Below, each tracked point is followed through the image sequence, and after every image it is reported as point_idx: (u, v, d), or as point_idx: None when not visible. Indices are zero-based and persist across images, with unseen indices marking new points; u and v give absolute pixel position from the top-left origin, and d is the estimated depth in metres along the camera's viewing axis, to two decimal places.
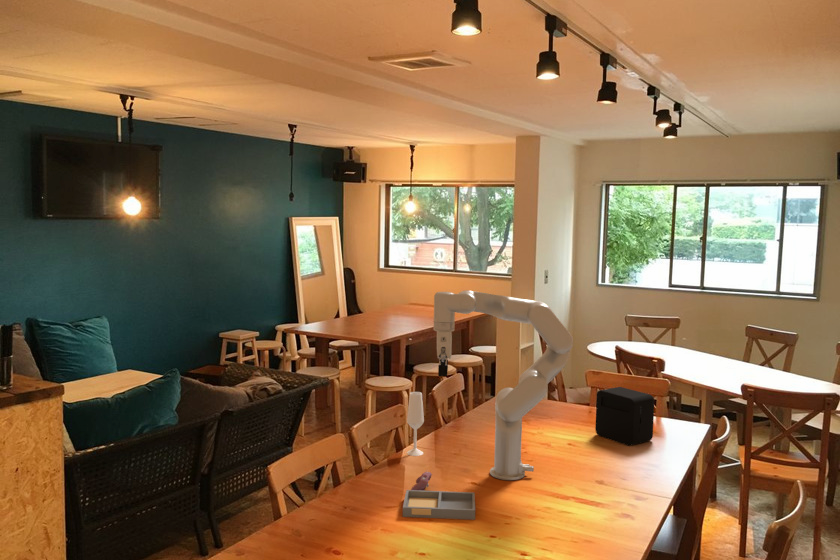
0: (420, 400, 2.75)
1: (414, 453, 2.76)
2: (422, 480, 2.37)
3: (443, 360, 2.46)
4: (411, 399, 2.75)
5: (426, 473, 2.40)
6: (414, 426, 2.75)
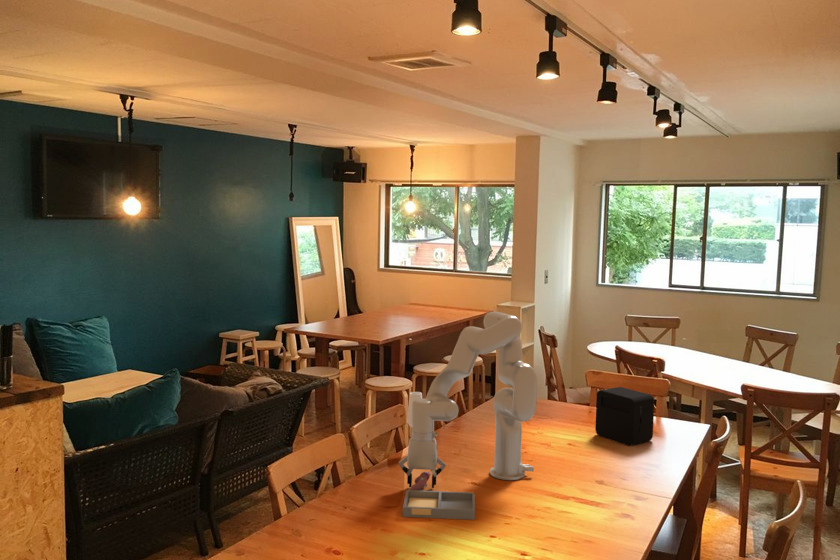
0: None
1: None
2: (421, 480, 2.37)
3: None
4: (411, 399, 2.75)
5: (425, 473, 2.40)
6: None
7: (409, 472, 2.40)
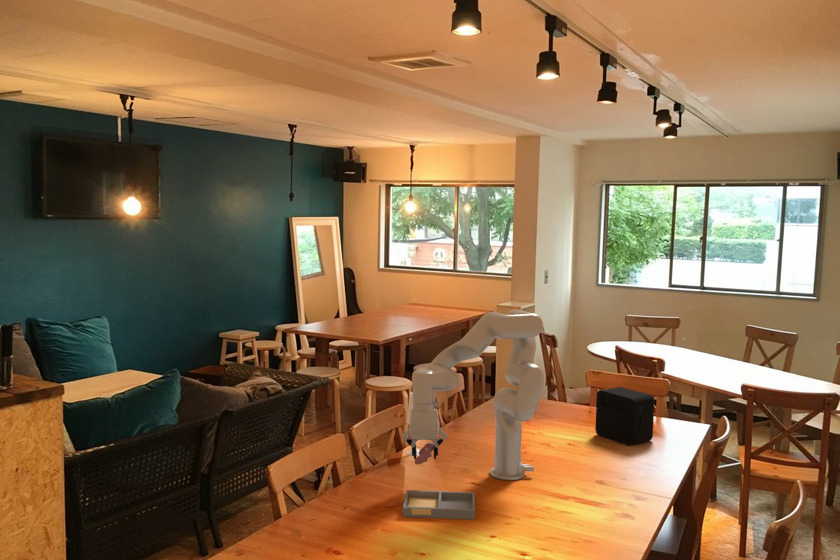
0: None
1: None
2: (425, 451, 2.36)
3: None
4: (411, 399, 2.75)
5: (429, 444, 2.40)
6: None
7: (413, 444, 2.39)
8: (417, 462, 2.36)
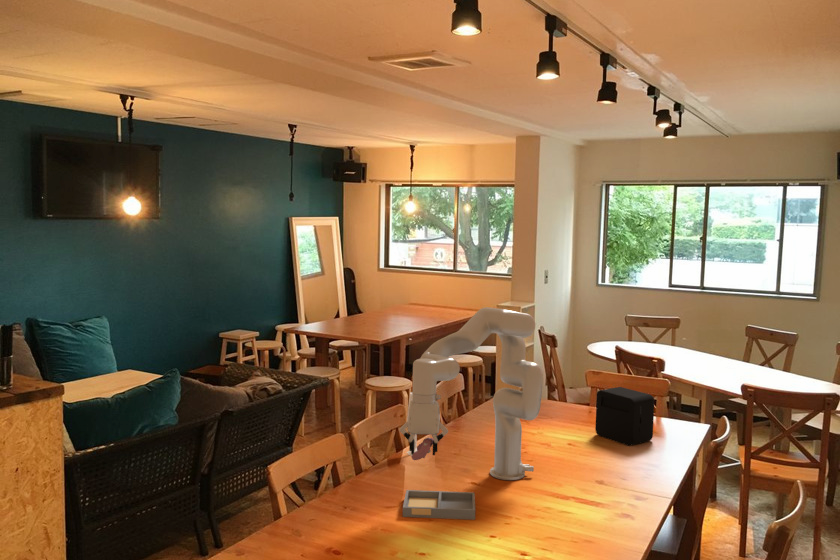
0: None
1: None
2: (424, 446, 2.20)
3: None
4: (411, 399, 2.75)
5: (428, 439, 2.24)
6: None
7: (411, 438, 2.23)
8: (415, 457, 2.20)
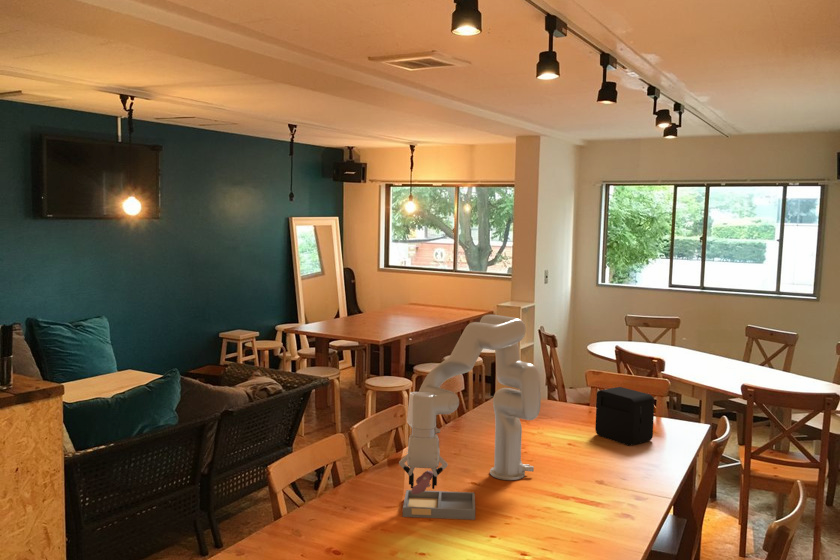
0: None
1: None
2: (423, 480, 2.20)
3: None
4: (411, 399, 2.75)
5: (427, 472, 2.24)
6: None
7: (411, 472, 2.23)
8: (415, 491, 2.20)
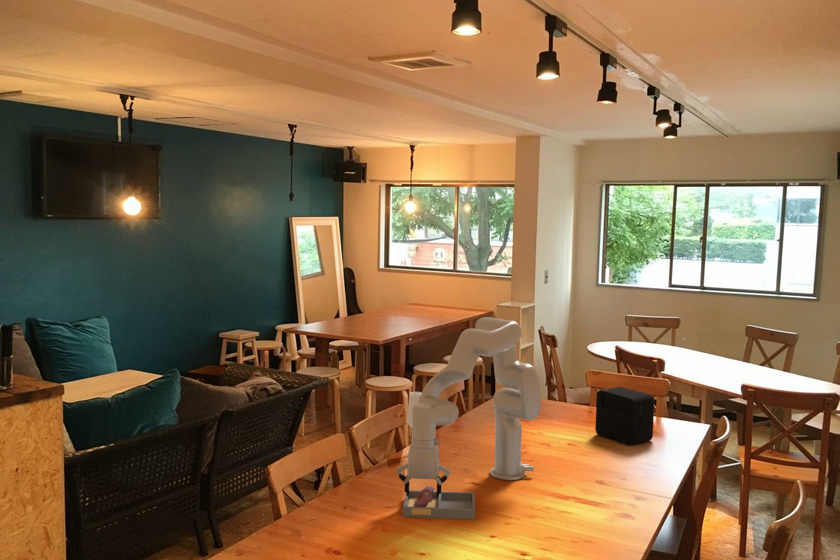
0: None
1: None
2: (425, 495, 2.21)
3: None
4: (411, 399, 2.75)
5: (429, 487, 2.25)
6: None
7: (406, 480, 2.23)
8: None
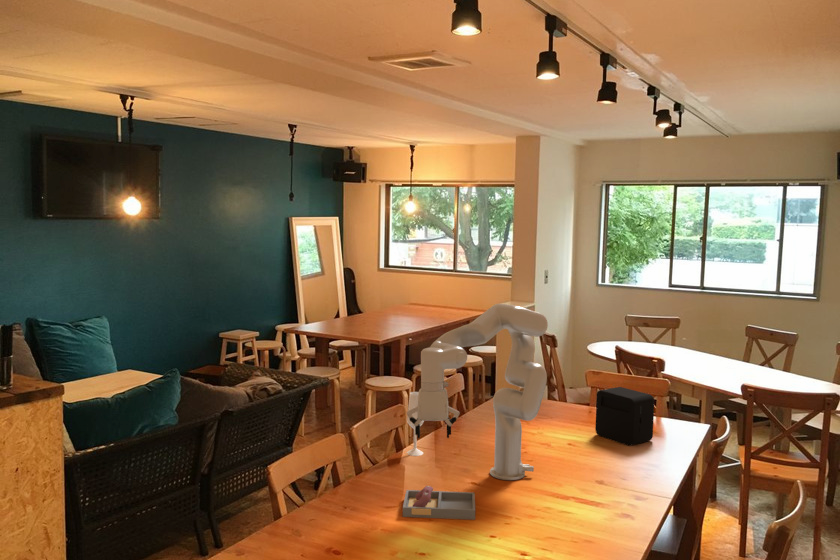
0: None
1: (414, 453, 2.76)
2: (424, 495, 2.21)
3: None
4: (411, 399, 2.75)
5: (428, 488, 2.25)
6: (414, 426, 2.75)
7: (417, 422, 2.30)
8: None
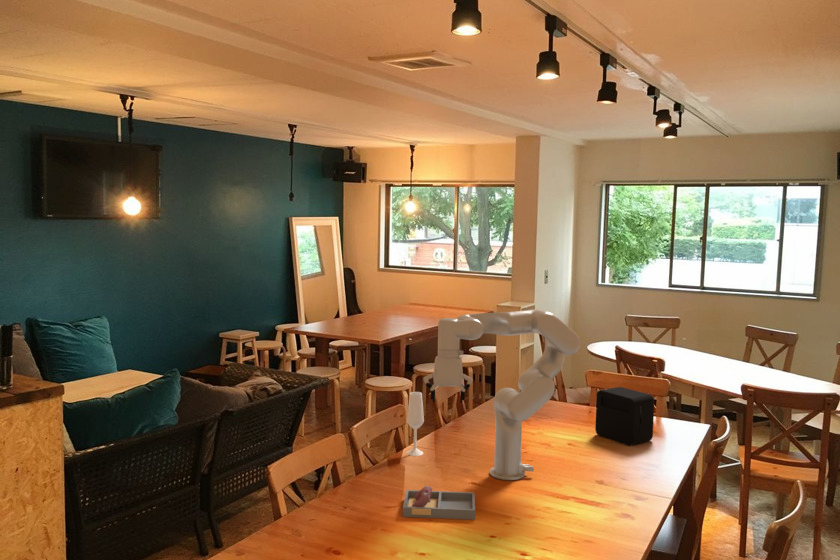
0: (420, 400, 2.75)
1: (414, 453, 2.76)
2: (424, 496, 2.21)
3: (470, 384, 2.47)
4: (411, 399, 2.75)
5: (427, 488, 2.24)
6: (414, 426, 2.75)
7: (433, 387, 2.46)
8: None
